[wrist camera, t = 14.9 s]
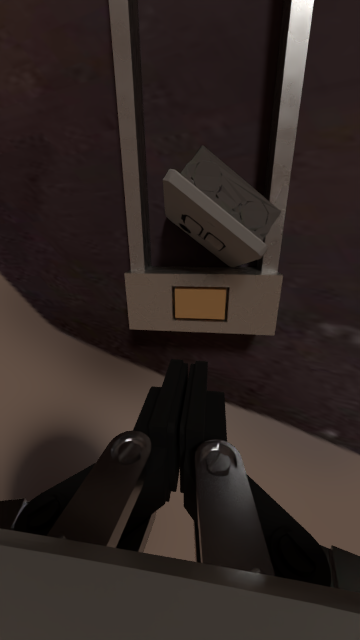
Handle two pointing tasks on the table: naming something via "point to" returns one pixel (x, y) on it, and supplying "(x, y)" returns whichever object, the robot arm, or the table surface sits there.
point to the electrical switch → (219, 209)
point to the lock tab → (200, 302)
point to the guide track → (143, 279)
